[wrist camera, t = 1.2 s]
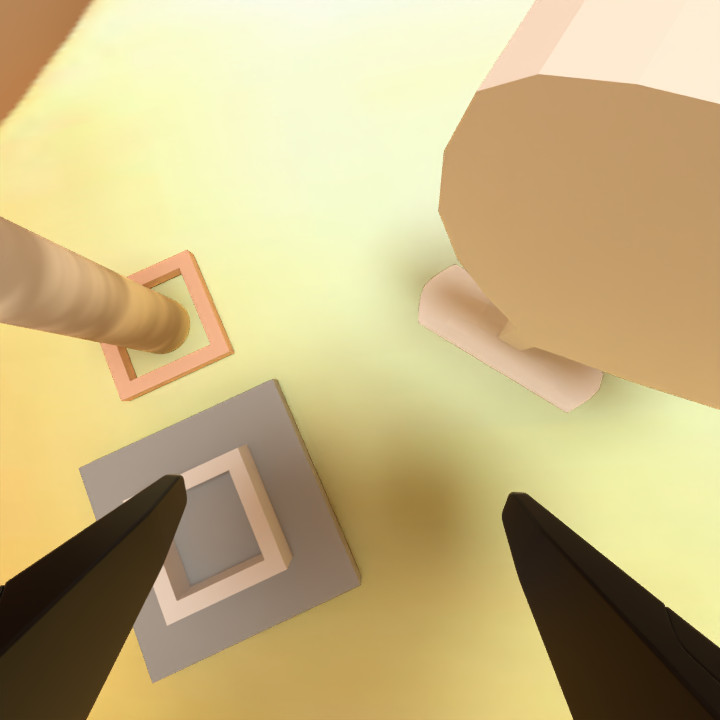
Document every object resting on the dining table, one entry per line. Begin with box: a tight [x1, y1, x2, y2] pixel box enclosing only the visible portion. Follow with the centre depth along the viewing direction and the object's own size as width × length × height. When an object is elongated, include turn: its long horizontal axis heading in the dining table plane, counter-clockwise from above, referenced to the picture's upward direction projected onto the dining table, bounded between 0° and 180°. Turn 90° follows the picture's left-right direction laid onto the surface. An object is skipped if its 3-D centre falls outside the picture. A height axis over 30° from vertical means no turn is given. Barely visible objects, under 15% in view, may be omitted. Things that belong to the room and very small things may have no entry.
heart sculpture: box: [418, 0, 720, 413], centre depth 14 cm, size 16×5×18 cm, turn 58°
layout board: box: [79, 379, 361, 683], centre depth 21 cm, size 14×14×2 cm
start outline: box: [100, 250, 234, 401], centre depth 23 cm, size 8×8×1 cm
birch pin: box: [0, 217, 190, 354], centre depth 18 cm, size 4×4×12 cm
